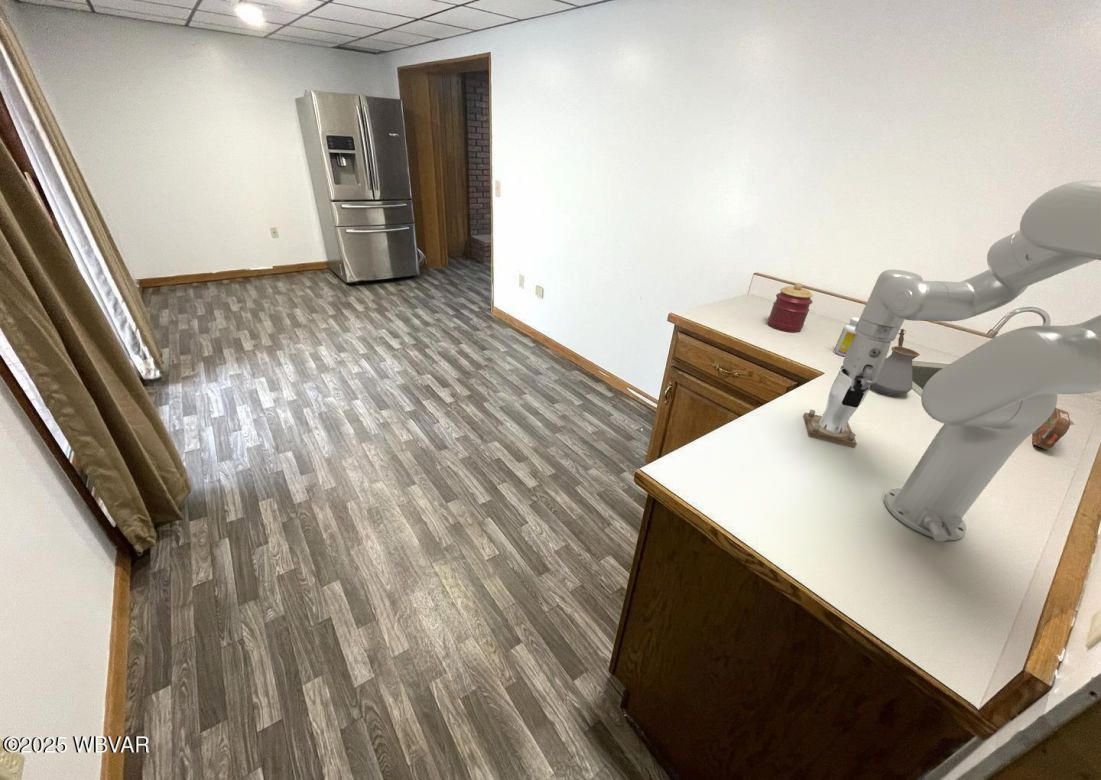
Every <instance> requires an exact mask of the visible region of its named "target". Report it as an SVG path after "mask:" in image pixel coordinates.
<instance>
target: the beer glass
mask: <svg viewBox="0 0 1101 780" xmlns="http://www.w3.org/2000/svg"><path fill="white" fill-rule="evenodd" d="M840 369H841V368H840ZM839 371H840V372H839ZM839 371H838V373H839V374H838V373H837V375H836V377H835V379H834V381H833V383H832V385H831V388H830V389H829V390H830V391H829V394H828V398H827V402H826V407H825V409H824V412H823V413H822V415H821V416H822V417H821V418H820V419H819V421H818V423H817V424H818V425H819V426H820V428H821V429H823V430H825V431H827V432H829V433H832V434H844V433H845V431H846V427H847V423H849V420H850V419H851V417H852V416H853V415H854V413H855V412H857V409H858V408H859V407H860V406H861V405H862V403H863V401H864V400H865V398H866V396H867V395H868V393H869V390H870V388H871V387H870V386H869V387H868V388H869V389H867V391H866V393H865V394H864V396H863V398H862V400H861V402H860V404H859V406H858V407H856V408H855V407H851V406H846V405H843V404H842V401H843V399H844V397H845V394H846V392H847V390H848V389H850V388H851V383H852V379H851V378H850V377H849V375H848V374H847V372H846V370H845V368H842V369H841V370H839ZM857 377H859V378H863V377H860V376H857ZM859 383H862V382H858V381H857V382H856V385H857V384H859Z"/></svg>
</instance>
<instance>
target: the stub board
mask: <svg viewBox="0 0 1101 780" xmlns="http://www.w3.org/2000/svg"><path fill="white" fill-rule="evenodd" d="M821 417H822V415H818V414H816V410H815V409H810V410H809V412H804V414H803V420H804V425H805V428H806V432H807V435H808V437H809V438H814V439H817V440H818V439H819V440H821V441H825V442H831V443H835V444H838V445H843V446H848V447H851V448H856V446H857V444H858V442H857V440H856V436H857V434H855V433H854V432H853V431H852V428H851V426H850V424H849V422H848V423H847V427H846V431H845V433H844V434H832V433H829V432H827V431H825V430H823V429H821V428H820V426H819V425H818V424H817V423H818V421H819V419H820V418H821Z"/></svg>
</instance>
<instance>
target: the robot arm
mask: <svg viewBox="0 0 1101 780" xmlns="http://www.w3.org/2000/svg"><path fill="white" fill-rule="evenodd" d="M1094 261H1101V180H1094V179H1093V180H1090V179H1089V180H1088V179H1087V180H1085V179H1084V180H1083V179H1082V180H1075V181H1072V182H1067V183H1064V184H1061V185H1058V186H1056V187H1054V188H1052V189H1049V190H1048V191H1046V192H1045V193H1043V194H1042V195H1041V196H1038V197H1037V198H1036V199H1035V200H1034V201H1033V202H1031V203H1030V205H1029V206H1028V207H1027V208H1026V210H1025V211H1024V213H1023V214H1022V217H1021V219H1020V223H1019V230H1017V231H1015V232H1013V233H1011V234H1008V235H1006V236H1005V237H1002V238H1000V239H998V240H997V241H995V242H994V243H993V244H992V245H991V246H990V248H989V249H988V250H987V255H986V262H987V266H988V269H987V270H985V271H983V272H981V273H978V274H976V275H973V276H972V277H971V276H970V277H969V278H967V279H963V280H962V281H959V282H958V281H946V280H945V281H943V280H924V279H923V277H922V276H921V275H919V274H918V273H914V272H911V271H906V270H900V269H886V270H883V271H882V272H881V273H880V274H879V275H878V277H877V279H876V281H875V284H874V286H873V287H872V290H871V292H870V295H869V297H868V300H867V301H866V303H865V306H864V308H863V310H862V312H861V315H860V317H859V318H860V319H859V321H858V323H857V326H856V328H855V330H854V331H855V332H856V335H855V337H854V339H853V341H852V343H851V344H850V346H849V348H848V351H847V353H846V355H845V357H844V358H843V361H842V365H841V367H840V370H841V369H842V368H845V370H846V372H847V374H848V375H849V377H850V378H851V379H852V383H851V388H850V389H848V390H847V392H846V394H845V397H844V399H843V401H842V404H843V405H846V406H851V407H855V408H856V407H858V406H859V404H860V402H861V400H862V398H863V396H864V394H865V393H866V391H867V389H869V390H870V388H868V387H869V386H870V385H871V383H874V382H875V381H876V379H877V377H878V375H879V373H880V371H881V368H882V366H883V364H884V361H885V359H886V358H887V357H888V353H889V351H890V348H891V344H892V342H894V341H895V339H896V338H897V336H898V335H899V334H898V333H900V332H899V331H901V330H900V329H902V326H903V324H904V321H905V320H907V321H918V322H920V321H921V322H958V321H959V322H960V321H964V320H968V319H972V318H973V317H977V316H980V315H983V314H985V313H988V312H990V311H993V310H996V309H998V308H1001V307H1004V306H1006V305H1007V304H1010V303H1011V302H1013V301H1015V299H1017V298H1018V297H1019V296H1020V295H1021V294H1023V293H1024V292H1026V290H1027V289H1028V287H1030V286H1032V285H1034V284H1037V283H1039V282H1041V281H1044V280H1048V279H1049V278H1052V277H1054V276H1057V275H1059V274H1063V273H1065V272H1067V271H1069V270H1071V269H1074V268H1077V267H1079V266H1082V265H1085V264H1088V263H1091V262H1094ZM840 370H839V371H838V373H837V375H838V374H839V372H840ZM857 376H860V377H863V378H859V377H857ZM857 381H858V382H862V383H859V384H857V385H856V382H857ZM1100 391H1101V314H1099V315H1097V316H1095V317H1092V318H1091V319H1088V320H1085V321H1083V322H1080V323H1076V324H1070V325H1030V326H1025V327H1019V328H1016V329H1013V330H1010V331H1007V332H1004V333H1001V334H1000V335H997V336H995V337H994V338H991V339H990V340H988V341H986V342H985V343H983V344H982V345H979V346H978V347H976V348H974V349H973V350H971V351H970V352H968V353H967V354H966V353H965V354H964V355H963V356H961V357H960V358H958V359H955V360H954V361H952V362H951V363H949V364H947V365H946V366H944V367H942V368H941V369H940V370H938V371H937V372H936V373H934V374H933V375H932V376H931V377H930V378H929V379H928V380H927V382H926V383H925V384H924V386H923V389H922V392H921V395H920V396H921V397H920V398H921V399H920V401H921V405H922V408H923V410H924V411H925V413H926V414H927V415H928V416H929V417H930V418H932V419H933V420H935V421H936V422H938V423H941V424H943V425H942V426H941V427H940V428H939V430H938V432H937V433H936V434H935V436H934V438H933V439H932V440H931V442H930V444H929V445H928V446H927V448H926V449H925V451H924V453H923V455H922V456H921V458H920V459H919V461H918V462H917V464H916V465H915V467H914V469H913V470H912V471H911V473H910V475H909V476H908V478H907V479H906V481H905V483H904V484H903V485H902V487H901V488H892V489H890V490H888V491H887V492H886V494H885V496H884V504H885V506H886V507H887V510H889V512H890V513H891V514H892V515H893V516H894V518H896V519H897V520H898V521H900V522H901V523H903V524H904V525H905V526H907V527H908V528H909V529H912V530H914V531H915V532H918V533H920V534H922V535H925V536H928V537H931V538H933V540H935V541H936V542H938V543H939V542H941V543H943V542H945V541H958V540H960V539H961V538H963V536H964V535H965V534H966V533H967V526H966V522H964V520H963V518H964V516H965V515H966V514H967V512H968V511H969V510H970V508H971V507H972V506H973V504H974V503H975V502H976V501H977V499H978V498H979V497H980V495H981V494H982V493H983V492H984V490H985V489H986V487H988V484H989V483H990V482H991V481H992V479H994V477H996V476H995V475H996V474H997V473H998V472H999V471H1000V469H1001V468H1003V466H1004V465H1005V463H1007V461H1008V460H1009V458H1010V457H1011V456H1012V455H1013V453H1014V452H1015V451H1016V450H1017V449H1018V448H1019V447H1020V446H1021V445H1022V443H1023V442H1025V440H1026V439H1028V438H1029V437H1030V436H1031V435H1032V433H1033V432H1034V431H1036V430H1037V429H1038V428H1039V427H1040V426H1041V425H1042V424H1043V423H1044V422H1045V421H1046V420H1047V419H1048V418H1049V417H1050V416H1051V414H1052V413H1053V411H1054V410H1055V407H1056V408H1057V405H1058V395H1080V394H1089V393H1090V394H1092V393H1096V392H1100ZM860 405H861V404H860ZM859 407H860V406H859ZM859 407H858V408H859Z"/></svg>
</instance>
